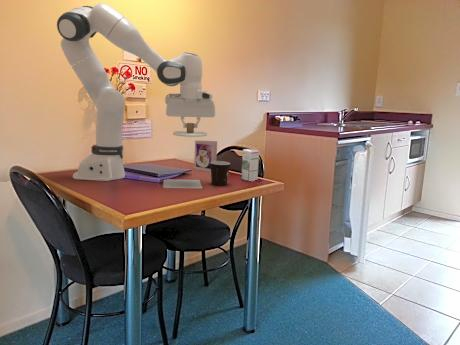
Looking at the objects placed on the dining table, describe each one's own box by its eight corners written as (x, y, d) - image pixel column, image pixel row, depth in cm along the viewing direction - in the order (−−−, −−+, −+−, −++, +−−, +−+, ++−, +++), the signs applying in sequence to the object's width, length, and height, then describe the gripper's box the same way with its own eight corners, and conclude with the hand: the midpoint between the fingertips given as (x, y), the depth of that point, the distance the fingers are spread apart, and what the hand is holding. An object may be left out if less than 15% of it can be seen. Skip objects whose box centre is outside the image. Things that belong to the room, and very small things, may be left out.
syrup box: (257, 180, 187) (259, 150, 184) (248, 181, 184) (250, 150, 181) (249, 178, 192) (251, 148, 189) (240, 179, 188) (242, 149, 185)
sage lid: (173, 136, 159) (173, 124, 158) (173, 132, 172) (173, 121, 171) (208, 137, 161) (208, 125, 160) (205, 133, 174) (205, 122, 173)
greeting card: (193, 169, 206) (194, 140, 203) (201, 167, 213) (202, 139, 210) (211, 172, 201) (213, 142, 198) (219, 170, 207) (220, 141, 204)
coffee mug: (217, 182, 179) (218, 160, 177) (232, 185, 174) (234, 163, 172) (200, 186, 170) (201, 163, 168) (216, 190, 165) (217, 166, 163)
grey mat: (163, 189, 162) (163, 187, 161) (163, 180, 177) (163, 179, 177) (202, 189, 164) (202, 188, 164) (199, 181, 180) (199, 179, 180)
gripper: (165, 93, 158) (165, 128, 161) (216, 95, 161) (215, 129, 164) (165, 93, 164) (165, 126, 167) (214, 94, 167) (213, 127, 170)
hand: (190, 127), depth 166 cm, fingers closed on sage lid, 3 cm apart
